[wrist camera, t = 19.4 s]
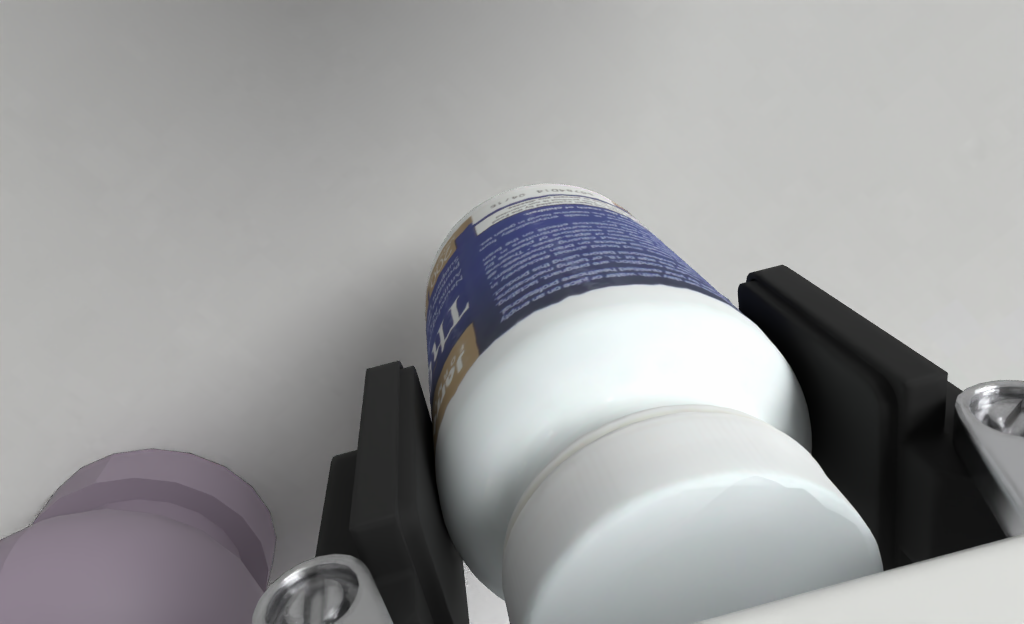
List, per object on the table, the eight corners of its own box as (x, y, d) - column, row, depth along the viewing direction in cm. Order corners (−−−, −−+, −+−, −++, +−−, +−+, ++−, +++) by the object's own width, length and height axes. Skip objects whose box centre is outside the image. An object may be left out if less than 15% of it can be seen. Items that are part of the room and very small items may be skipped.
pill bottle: (396, 208, 15) (384, 494, 6) (639, 154, 15) (969, 349, 6) (453, 419, 17) (505, 856, 8) (664, 368, 17) (935, 736, 9)
